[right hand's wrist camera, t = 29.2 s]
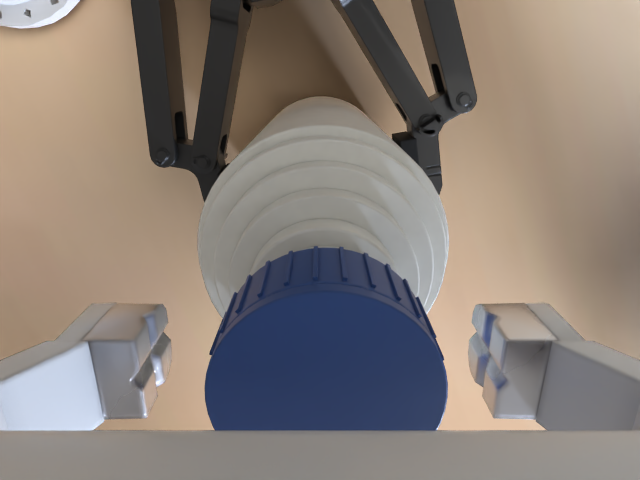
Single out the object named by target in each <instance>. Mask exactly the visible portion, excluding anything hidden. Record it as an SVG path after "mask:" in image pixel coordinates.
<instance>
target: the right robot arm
mask: <svg viewBox="0 0 640 480" xmlns="http://www.w3.org/2000/svg"><path fill="white" fill-rule="evenodd" d="M167 324H168V318H167V312H166V308H165V307H164V305H163V304H131V303H118V304H117V303H95V304H91V305H90V306H89V307H88V308H87V309H86V310H85V311H84V312H83V313H82V314H81V315H80V316H79V317H78V318H77V319H76V320H75V321H74V322H73V323H72V324H71V325H70V326H69V327H68V328H67V329H66V330H65V331H64V332H63V333H62V334H61V335H60V336H59V337H58V338H57V339H56V340H55V341H45V342H43V343H41V344H38V345H36V346H33V347H31V348H29V349H26V350H24V351H21V352H19V353H17V354H14V355H12V356H9V357H7V358H4V359H2V360H0V480H640V360H638V359H635V358H633V357H631V356H628V355H626V354H623V353H621V352H619V351H616V350H614V349H611V348H609V347H607V346H604V345H602V344H599V343H597V342H595V341H585V340H584V339H583V338H582V337H581V336H580V335H579V334H578V333H577V332H576V331H575V330H574V329H573V328H572V327H571V326H570V325H569V324H568V323H567V322H566V321H565V320H564V319H563V318H562V317H561V316H560V315H559V314H558V313H557V312H556V311H555V310H554V309H553V308H552V307H551V306H550V305H549V304H547V303H506V304H479V305H476V306H475V309H474V311H473V317H472V324H473V325H474V327H475V329H476V330H477V332H476V333H475V334H474V335H473V336H472V338H471V339H470V340H469V349H468V358H469V367H470V371H471V374H472V376H473V378H474V381H475V382H476V383H477V384H479V385H481V386H482V387H483V394H482V397H483V399H484V401H485V402H486V404H487V406H488V408H489V410H490V412H491V414H492V416H493V418H503V419H536V422H537V423H539V424H540V425H541V426H543V427H544V428H545V429H546V430H94V429H95V428H96V427H98V426H99V425H100V424H101V423H103V422H104V419H135V418H147V416H148V414H149V412H150V410H151V408H152V406H153V404H154V402H155V401H156V399H157V397H158V394H157V387H158V386H159V385H161V384H163V383H164V382H165V381H166V378H167V376H168V374H169V371H170V366H171V361H172V347H171V340H170V339H169V338H168V336H167V335H166V334H165V333H164V332H163V330H164V329H165V327H166V325H167Z"/></svg>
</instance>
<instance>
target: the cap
mask: <svg viewBox="0 0 640 480" xmlns="http://www.w3.org/2000/svg"><path fill="white" fill-rule="evenodd" d="M209 355H212V357H211V359H210V362H209V366H208V369H207V373H206V380H205V402H206V406H207V411H208V415H209V418H210V420H211V423H212V426H213V428H214V429H215V430H437V429H438V427H439V425H440V423H441V421H442V418H443V415H444V412H445V408H446V402H447V395H448V382H447V375H446V370H445V366H444V363H443V360H444V357H443V355H442V352H441V350H440V348H439V345H438V343H437V341H436V335H435V333H434V330H433V328H432V326H431V324H430V321H429V319H428V317H427V315H426V312H425V310H424V308H423V305H422V303H421V301H420V299H419V297H415V295H414V294H413V292H412V291H411V288H410V286H409V284H408V281H407V280H406V279H402V278H401V277H400V276H399V275H398V274H397V273H395V272H394V271H393V270H392V269H391V267H390V265H389V264H387V263H386V265H385V264H383V263H381V262H380V261H378V260H376V259H374V258H372V257H369V255H368V253H365V252H364V254H361V253H358V252H355V251H351V250H346V249H344V247H339V248H318V246H314V248H311V249H305V250H300V251H296V252H293V251H289V253H288V254H287V255H284V256H281V257H279V258H277V259H275V260H273V261H271V262H270V260H268V261H267V262H266V264H265V266H263V267H262V268H260V269H259V270H258V271H257V272H255V273H254V274H253V275H252V276H251V275H250V274H249V275H248V276H247V279H246V282H245V283H244V284H243V286H242V287H241V288H240V290H239V291H238V293H236V292H234V294H233V296H232V299H231V302H230V304H229V307H228V309H227V312H225V314H224V317H223V319H222V322H221V325H220V327H219V330H218V332H217V335H216V337H215V340H214V343H213V345H212V348H211V350H210V353H209Z"/></svg>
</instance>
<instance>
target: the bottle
mask: <svg viewBox="0 0 640 480" xmlns="http://www.w3.org/2000/svg"><path fill="white" fill-rule="evenodd" d="M314 246H318V248H339V247H344V249H346V250H351V251H355V252H358V253H361V254H364V252H365V253H368V255H369V257H372V258H374V259H376V260H378V261H380V262H381V263H383V264H385V265H386V263H387V264H389V265H390V267H391V269H392V270H393V271H394V272H395V273H397V274H398V275H399V276H400V277H401V278H402V279H406V280H407V281H408V284H409V286H410V288H411V291H412V292H413V294H414V295H415V297H419V299H420V301H421V303H422V305H423V308H424V310H425V312H426V315H427V313H428V312H429V310H430V309H431V307H432V305H433V303H434V301H435V299H436V297H437V295H438V293H439V290H440V287H441V284H442V282H443V277H444V273H445V268H446V263H447V259H448V248H449V235H448V225H447V220H446V215H445V211H444V208H443V205H442V202H441V200H440V197H439V195H438V193H437V191H436V189H435V187H434V186H433V184H432V182H431V181H430V179H429V178H428V176H427V175H426V174H425V172H424V171H423V170H422V168H421V167H420V166H419V165H418V164H417V163H416V162H415V161H414V160H413V159H412V158H411V157H410V156H409V155H408V154H407V153H406V152H405V151H403V150H402V149H401V148H400V147H399V146H398V145H397V144H396V143H395V142H394V141H393V140H392V139H391V138H390V137H389V136H388V135H387V134H386V133H384V132H383V131H382V130H381V129H380V128H379V127H378V126H377V125H376V124H375V123H374V122H373V121H372V120H371V119H370V118H369V117H368V116H367V115H365V114H364V113H363V112H362V111H361V110H360V109H358V108H357V107H356V106H354V105H352V104H350V103H349V102H346V101H344V100H341V99H338V98H334V97H326V96H315V97H309V98H305V99H302V100H298V101H296V102H294V103H292V104H290V105H289V106H287V107H286V108H284V109H283V110H282V111H280V112H279V113H278V114H277V115H276V116H275V117H274V118H273V119H272V120H271V121H270V122H269V123H268V124H267V125H266V126H265V127H264V129H263V130H262V131H261V132H260V133H259V134H258V135H257V136H256V137H255V138H254V139H253V140H252V141H251V142H250V143H249V144H248V145H247V146H246V147H245V148H244V149H243V150H242V151H241V152H240V153H239V154H238V155H237V156H236V158H235V159H234V160H233V161H232V162H231V163H230V164H229V165H228V166H227V167H226V168H225V170H224V171H223V172H222V173H221V174H220V176H219V177H218V179H217V180H216V182H215V183H214V185H213V186H212V188H211V190H210V192H209V194H208V196H207V199H206V201H205V203H204V206H203V210H202V213H201V216H200V221H199V228H198V256H199V264H200V267H201V271H202V275H203V279H204V283H205V286H206V289H207V291H208V294H209V296H210V299H211V301H212V303H213V304H214V306H215V308H216V310H217V311H218V313H219V314H220V316H221V317H222V318H223V317H224V314H225V312H227V309H228V307H229V304H230V302H231V299H232V296H233V294H234V292H236V293H238V291H239V290H240V288H241V287H242V286H243V284H244V283H245V282H246V279H247V276H248V275H249V274H250V275H251V276H252V275H253V274H254V273H255V272H257V271H258V270H259V269H260V268H262V267H263V266H265V264H266V262H267V261H268V260H270V262H271V261H273V260H275V259H277V258H279V257H281V256H284V255H287V254H288V253H289V251H293V252H296V251H300V250H305V249H311V248H314Z"/></svg>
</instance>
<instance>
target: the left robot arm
mask: <svg viewBox="0 0 640 480" xmlns="http://www.w3.org/2000/svg"><path fill="white" fill-rule="evenodd" d="M281 1H282V0H211V7H210V16H211V25H210V32H209V39H208V45H207V52H206V59H205V65H204V72H203V79H202V85H201V92H200V99H199V105H198V112H197V119H196V125H195V132H194V139H193V140H189V139H188V133H187V122H186V111H185V101H184V90H183V80H182V69H181V59H180V48H179V38H178V27H177V16H176V8H175V2H174V0H131V6H132V14H133V22H134V31H135V39H136V47H137V55H138V63H139V71H140V79H141V87H142V95H143V103H144V111H145V119H146V127H147V135H148V143H149V151H150V156H151V160H152V161H153V162H154V164H156V165H157V166H159V167H163V168H165V167H169V166H171V167H177V168H183V169H187V170H189V171H191V172H192V173H194V174H195V176H196V177H197V179H198V181H199V185H200V188H201V192H202V196H203V199H204V203H205V201H206V199H207V196H208V194H209V192H210V190H211V188H212V186H213V185H214V183H215V182H216V180H217V179H218V177H219V176H220V174H221V173H222V172H223V171H224V170H225V168H226V167H227V166H228V165H229V164H230V163H229V164H227V165H226V164H225V160H224V159H225V158H226V157H227V155H228V154H226V148H227V143H228V137H229V131H230V126H231V120H232V114H233V109H234V103H235V97H236V91H237V86H238V80H239V74H240V69H241V63H242V57H243V52H244V46H245V40H246V35H247V31H248V29H249V26H250V21H251V16H252V10H253V6H255V7H256V8H257V9H258V8H263V7H268V6H273V5H275V4H277V3H279V2H281ZM331 1H332V3H333V5H334V6H335V8H336V9H337V11H338V12H339V13H340V14H341V16H342V18H343V19H344V21H345V23H346V24H347V26H348V28H349V29H350V31H351V33H352V34H353V36H354V38H355V39H356V41H357V43H358V44H359V46H360V48H361V49H362V51H363V53H364V54H365V56H366V58H367V59H368V61H369V63H370V64H371V66H372V68H373V69H374V71H375V73H376V74H377V76H378V78H379V79H380V81H381V83H382V84H383V86H384V88H385V89H386V91H387V93H388V94H389V96H390V98H391V99H392V101H393V103H394V104H395V106H396V108H397V109H398V111H399V113H400V114H401V116H402V118H403V119H404V121H405V123H406V124H407V132H400V133H395V134H392V139H393V141H394V142H395V143H396V144H397V145H398V146H399V147H400V148H401V149H402V150H403V151H405V152H406V153H407V154H408V155H409V156H410V157H411V158H412V159H413V160H414V161H415V162H416V163H417V164H418V165H419V166H420V167H421V168H422V170H423V171H424V172H425V174H426V175H427V176H428V178H429V179H430V181H431V182H432V184H433V186H434V187H435V189H436V191H437V193H438V195H439V194H440V191H441V188H442V176H441V166H440V165H441V164H440V153H439V141H438V134H439V131H440V130H441V128H442V126H443V125H444V123H446V122H447V121H449V120H450V119H452V118H454V117H456V116H458V115H459V114H461V113H467V112H469V111H471V110H472V109H473V108H474V106H475V104H476V102H477V94H476V90H475V86H474V82H473V78H472V74H471V70H470V66H469V61H468V57H467V53H466V49H465V45H464V41H463V37H462V32H461V28H460V24H459V20H458V16H457V12H456V8H455V4H454V0H411V3H412V6H413V10H414V14H415V18H416V21H417V25H418V29H419V32H420V36H421V40H422V43H423V47H424V51H425V54H426V58H427V62H428V65H429V69H430V73H431V76H432V80H433V84H434V88H435V91H436V94H434V95H432V96H431V97H429V98H428V96H427V95H426V93H425V91H424V89H423V88H422V86H421V84H420V82H419V81H418V79H417V77H416V75H415V74H414V72H413V70H412V68H411V67H410V65H409V63H408V61H407V60H406V58H405V56H404V54H403V53H402V51H401V49H400V47H399V46H398V44H397V42H396V40H395V39H394V37H393V35H392V33H391V32H390V30H389V28H388V26H387V25H386V23H385V21H384V19H383V18H382V16H381V14H380V12H379V11H378V9H377V7H376V5H375V4H374V2H373V0H331Z"/></svg>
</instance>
